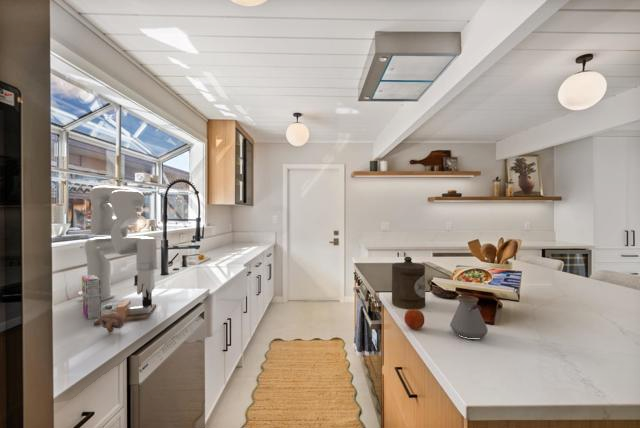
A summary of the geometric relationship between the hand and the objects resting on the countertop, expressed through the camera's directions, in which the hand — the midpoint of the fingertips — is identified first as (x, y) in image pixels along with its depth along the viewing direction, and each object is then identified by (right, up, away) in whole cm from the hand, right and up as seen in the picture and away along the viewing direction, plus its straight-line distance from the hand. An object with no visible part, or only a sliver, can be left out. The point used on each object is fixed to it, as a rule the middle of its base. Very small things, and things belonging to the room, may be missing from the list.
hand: (147, 308), depth 126 cm
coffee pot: (+124, -1, -31) cm, 128 cm away
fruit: (+109, -1, -20) cm, 111 cm away
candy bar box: (-23, -3, -1) cm, 23 cm away
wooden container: (+116, -1, +8) cm, 116 cm away
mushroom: (-1, -3, -21) cm, 21 cm away
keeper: (-6, -1, -5) cm, 9 cm away
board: (-7, -2, -2) cm, 8 cm away
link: (-6, -1, -5) cm, 8 cm away
